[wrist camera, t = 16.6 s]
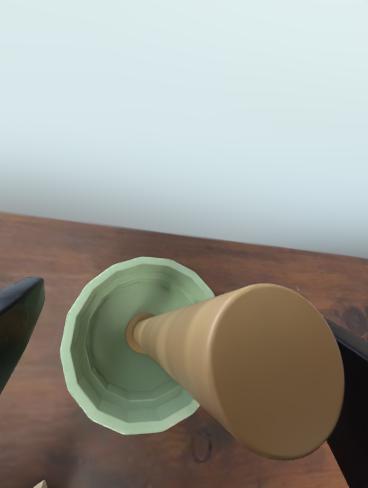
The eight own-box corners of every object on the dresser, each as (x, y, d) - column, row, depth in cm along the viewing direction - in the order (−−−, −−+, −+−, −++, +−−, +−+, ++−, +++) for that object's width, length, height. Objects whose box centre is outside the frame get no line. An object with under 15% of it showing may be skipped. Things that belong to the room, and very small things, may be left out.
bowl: (171, 425, 16) (191, 464, 11) (48, 371, 15) (18, 389, 11) (214, 303, 20) (242, 296, 15) (119, 255, 19) (119, 232, 15)
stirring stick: (168, 339, 17) (419, 404, 3) (134, 360, 16) (260, 640, 2) (152, 307, 18) (293, 217, 3) (118, 325, 17) (111, 308, 2)
